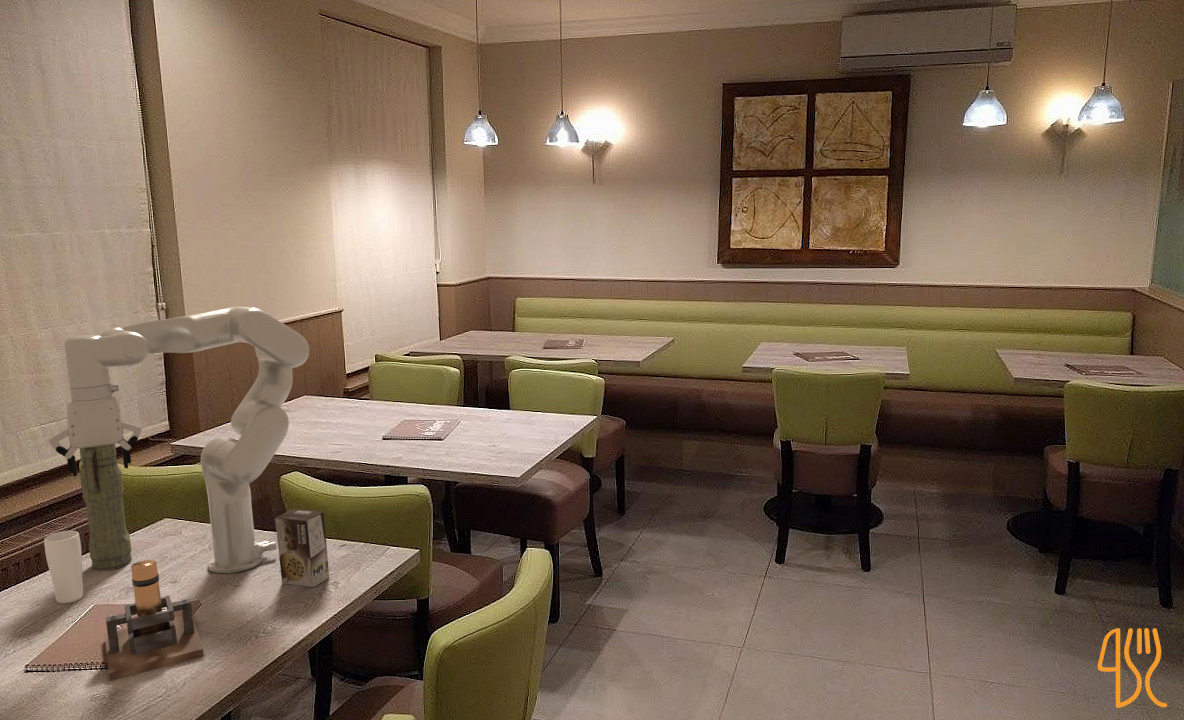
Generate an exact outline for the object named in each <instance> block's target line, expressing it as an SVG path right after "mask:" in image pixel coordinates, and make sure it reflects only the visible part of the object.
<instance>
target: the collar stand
mask: <svg viewBox="0 0 1184 720" xmlns="http://www.w3.org/2000/svg"><path fill="white" fill-rule="evenodd" d="M161 605H162V609H164V608H166V610H162V612H157V613H153V614H149V615H145V616H140V617H137V616H136V617H132V616H134V615H137V611H136V603H135V602H134V603H130V604H125V605H124V612H125V613H122V614H116V615H112V616H107V617H105V624H106V632H107V633H105V634H104V640H105V651H106V662H107V671H108V672H107V673H108V679H109V681H114V680H117V679H123V678H125V677H129V676H134V675H136V674H137V675H138V674H140V673H144V672H148V671H151V670H152V671H153V670H157V669H159V668H164V667H166V666H171V665H175V664H178V663H183V662H186V661H187V662H188V661H190V660H195V659H197V658H198V659H199V658H201V657H205V654H204V648H203V645H202V642H201V641H202V640H201V638H200V635H199V632H198V629H197V626H196V624H195V623H196V622H195V619H194V617H193V607H192V601H191V599H190V598H187V599H182V600H176V601H172V600H171V596H170V595H166V596H162V597H161ZM180 611H182V615H180V616H175V612H180ZM160 623H164V630H165V631H161V632H157V633H153V634H149V635H144V636H139V628H143V627H148V626H152V625H156V624H160ZM124 624H126V627H127V628H125V629H124V628H123V629H119V630H118V627H117V626H120V625H124Z"/></svg>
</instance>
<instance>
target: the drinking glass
mask: <svg viewBox="0 0 1184 720" xmlns="http://www.w3.org/2000/svg"><path fill="white" fill-rule="evenodd" d="M43 541H44V543H43V544H44V552H45V557H46V563H47V565H48V566H47V567H48V571H49V575H50V578H51V582H52V585H53V586H52V587H53V590H54V595H55V596H54V597H55V601H56V603H58V604H63V605H65V604H70V603H71V604H72V603H75V602H77V601H79V600H81V599H82V598H83V596H84V593H85V592H84V585H83V583H84V582H83V558H82V556H83V555H82V543H81V538H80V533H79V531H76V530H63V531H58V532H54V533H51V534H49V535H47V536H45V538H44V540H43Z"/></svg>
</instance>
